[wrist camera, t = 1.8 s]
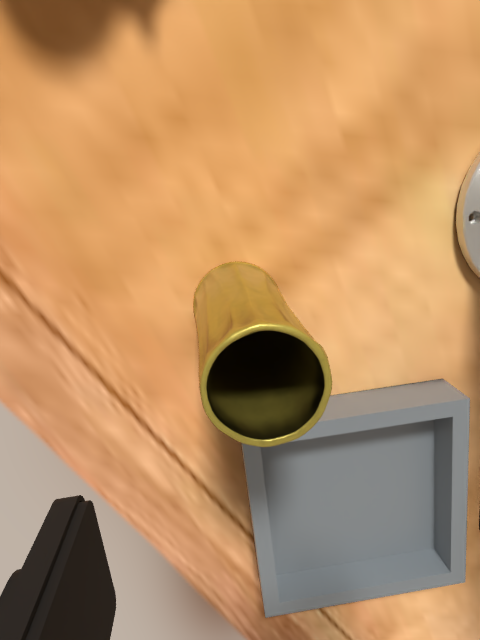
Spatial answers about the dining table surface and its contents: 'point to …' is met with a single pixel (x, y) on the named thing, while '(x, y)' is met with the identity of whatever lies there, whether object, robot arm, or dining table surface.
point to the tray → (363, 499)
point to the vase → (256, 359)
